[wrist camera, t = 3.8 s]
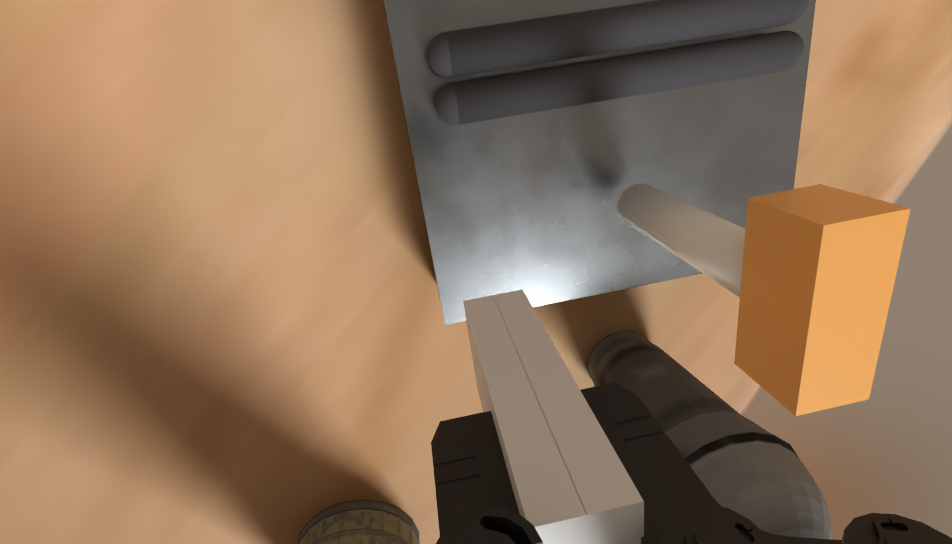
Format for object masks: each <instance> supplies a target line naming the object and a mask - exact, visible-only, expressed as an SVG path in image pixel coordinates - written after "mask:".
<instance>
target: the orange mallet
mask: <svg viewBox="0 0 952 544" xmlns="http://www.w3.org/2000/svg"><path fill="white" fill-rule="evenodd" d="M616 210H617V213H618V215H619V217H620V218H621V219H622V220H623V221H624V222H626V223H627V224H629V225H630V226H632V227H634V228H635V229H637V230H638V231H640V232H641V233H643V234H644V235H646V236H647V237H649V238H650V239H652V240H653V241H655V242H656V243H658V244H659V245H661V246H662V247H664V248H665V249H667V250H669V251H670V252H672V253H673V254H675V255H676V256H678V257H679V258H681V259H682V260H684V261H685V262H687V263H688V264H690V265H691V266H693V267H694V268H696V269H697V270H699V271H700V272H702V273H704V274H705V275H707V276H708V277H710V278H711V279H713V280H714V281H716V282H717V283H719V284H720V285H722V286H723V287H725V288H726V289H728V290H729V291H731V292H732V293H734V294H735V295H737V296H738V297H740V302H739V314H738V327H737V339H736V351H735V364H736V365H737V366H738V367H739V368H740V369H742V370H743V371H744V372H745V373H746V374H747V375H748V376H750V377H751V378H752V379H753V380H754V381H755V382H757V383H758V384H759V385H760V386H761V387H762V388H764V389H765V390H766V391H767V392H768V393H769V394H771V395H772V396H773V397H774V398H775V399H776V400H778V401H779V402H780V403H781V404H782V405H783V406H785V407H786V408H787V409H788V410H789V411H790V412H792V413H793V414H794V415H795V416H798V415H803V414H807V413H811V412H816V411H820V410H824V409H829V408H833V407H837V406H842V405H845V404H850V403H855V402H859V401H863V400H867V399H869V397H870V392H871V388H872V382H873V379H874V374H875V369H876V365H877V360H878V355H879V351H880V346H881V341H882V337H883V333H884V327H885V323H886V319H887V314H888V310H889V305H890V301H891V296H892V291H893V286H894V282H895V278H896V273H897V268H898V263H899V259H900V255H901V250H902V245H903V241H904V236H905V232H906V227H907V222H908V218H909V213H910V208H907V207H903V206H899V205H896V204H892V203H888V202H884V201H881V200H877V199H873V198H870V197H866V196H862V195H858V194H855V193H851V192H847V191H844V190H840V189H836V188H832V187H829V186H825V185H821V184H820V185H815V186H809V187H804V188H799V189H793V190H788V191H783V192H777V193H772V194H767V195H761V196H756V197H751V198H748V204H747V216H746V228H745V229H744V228H742V227H740V226H738V225H736V224H733V223H731V222H729V221H727V220H725V219H722V218H720V217H718V216H716V215H714V214H711V213H709V212H707V211H705V210H702V209H700V208H698V207H696V206H694V205H691V204H689V203H687V202H685V201H683V200H680V199H678V198H676V197H674V196H672V195H669V194H667V193H665V192H663V191H661V190H658V189H656V188H654V187H652V186H649V185H647V184H644V183H634V184H631V185H628V186H627V187H625V188H624V189H623V190H622V191H621V192H620V194H619V195H618V197H617V200H616Z"/></svg>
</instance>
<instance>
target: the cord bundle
mask: <svg viewBox="0 0 952 544" xmlns="http://www.w3.org/2000/svg"><path fill="white" fill-rule="evenodd" d="M808 5H809V0H657V1H650V2H644V3H637V4H630V5H623V6H617V7H610V8H603V9H596V10H589V11H583V12H576V13H569V14H562V15H556V16H549V17H542V18H535V19H529V20H522V21H515V22H508V23H501V24H495V25H488V26H481V27H474V28H468V29H461V30H454V31H447V32H442V33H439V34H437V35H436V36H435V37H433V39H432V40H431V41H430V43H429V45H428V48H427V60H428V63H429V65H430V67H431V68H432V70H433V71H434V72H435V73H437V74H438V75H440V76H442V77H456V76H462V75H469V74H475V73H481V72H488V71H494V70H501V69H507V68H513V67H520V66H526V65H533V64H539V63H545V62H552V61H558V60H565V59H571V58H578V57H584V56H590V55H597V54H603V53H610V52H616V51H622V50H629V49H635V48H642V47H648V46H655V45H661V44H667V43H674V42H680V41H687V40H693V39H699V38H706V37H712V36H719V35H725V34H731V33H738V32H744V31H751V30H757V29H764V28H770V27H776V26H783V25H787V24H791V23H793V22H794V21H796V20H797V19H799V18H800V17H801V16H802V15H803V14H804V12H805V11H806V9H807V7H808ZM803 52H804V42H803V39H802V38H801V37H800V35H799V34H797V33H796V32H793V31H778V32H772V33H765V34H759V35H753V36H746V37H740V38H733V39H727V40H721V41H714V42H708V43H702V44H695V45H689V46H682V47H676V48H670V49H663V50H657V51H651V52H644V53H638V54H631V55H625V56H619V57H612V58H606V59H600V60H593V61H587V62H580V63H574V64H568V65H561V66H555V67H549V68H542V69H536V70H529V71H523V72H517V73H510V74H504V75H498V76H491V77H485V78H478V79H472V80H466V81H459V82H453V83H449V84H446V85H445V86H443V87H442V88H441V89H440V90H439V91H438V93H437V95H436V98H435V108H436V112H437V114H438V116H439V117H440V118H441V119H442V120H443V121H444V122H446V123H448V124H451V125H460V124H466V123H473V122H479V121H485V120H491V119H497V118H503V117H509V116H515V115H521V114H527V113H533V112H539V111H545V110H552V109H558V108H564V107H570V106H576V105H582V104H588V103H594V102H600V101H606V100H612V99H618V98H624V97H630V96H637V95H643V94H649V93H655V92H661V91H667V90H673V89H679V88H685V87H691V86H697V85H703V84H709V83H715V82H722V81H728V80H734V79H740V78H746V77H752V76H758V75H764V74H770V73H776V72H782V71H786V70H788V69H790V68H792V67H793V66H794V65H796V64H797V63H798V61H799V60H800V59H801V57H802V55H803Z"/></svg>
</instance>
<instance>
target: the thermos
mask: <svg viewBox="0 0 952 544" xmlns="http://www.w3.org/2000/svg"><path fill="white" fill-rule="evenodd" d="M297 544H419V531H418V529H417V527H416V526H415V524H414V522H413V520H412V519H411V518H410V517H409V516H408V515H406V514H405V513H404V512H403V511H401V510H400V509H398V508H396V507H393V506H391V505H388V504H385V503H382V502H373V501H365V500H363V501H355V502H347V503H342V504H339V505H337V506H334V507H331V508H328V509H326V510H324V511H323V512H321V513H320V514H318V515H317V516H315V517H314V518H313V519H311V520H310V521H309V522H308V523H307V525H306V526H305V527H304V529H303V530H302V531H301V533H300V535H299V539H298V543H297Z"/></svg>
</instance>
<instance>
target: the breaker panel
mask: <svg viewBox="0 0 952 544" xmlns="http://www.w3.org/2000/svg"><path fill="white" fill-rule="evenodd" d="M650 1H657V0H383V2H384V8H385V13H386V18H387V23H388V29H389V34H390V39H391V45H392V50H393V55H394V60H395V66H396V71H397V76H398V81H399V87H400V92H401V97H402V103H403V108H404V113H405V118H406V124H407V129H408V134H409V140H410V145H411V150H412V155H413V161H414V166H415V171H416V177H417V182H418V187H419V192H420V198H421V203H422V208H423V213H424V219H425V224H426V229H427V235H428V240H429V245H430V250H431V256H432V261H433V266H434V272H435V277H436V282H437V287H438V292H439V297H440V302H441V307H442V312H443V317H444V321H445V325H447V324H452V323H457V322H462V321H466V315H465V309H464V303H463V301H465V300H470V299H475V298H481V297H486V296H491V295H496V294H501V293H506V292H511V291H517V290H523V291H524V293H525V295H526V297H527V298H528V300H529V302H530V304H531V305H532V307H537V306H542V305H547V304H552V303H557V302H562V301H567V300H572V299H577V298H582V297H587V296H592V295H597V294H602V293H607V292H612V291H617V290H622V289H627V288H632V287H637V286H642V285H647V284H652V283H657V282H662V281H667V280H672V279H677V278H682V277H687V276H692V275H697V274H702V272H700V271H699V270H697V269H696V268H694V267H693V266H691V265H690V264H688V263H687V262H685V261H684V260H682V259H681V258H679V257H678V256H676V255H675V254H673V253H672V252H670V251H669V250H667V249H665V248H664V247H662V246H661V245H659V244H658V243H656V242H655V241H653V240H652V239H650V238H649V237H647V236H646V235H644V234H643V233H641V232H640V231H638V230H637V229H635V228H634V227H632V226H630V225H629V224H627V223H626V222H624V221H623V220H622V219H621V218H620V217H619V215H618V213H617V210H616V200H617V197H618V195H619V194H620V192H621V191H622V190H623V189H624V188H625V187H627V186H628V185H631V184H634V183H644V184H647V185H649V186H652V187H654V188H656V189H658V190H661V191H663V192H665V193H667V194H669V195H672V196H674V197H676V198H678V199H680V200H683V201H685V202H687V203H689V204H691V205H694V206H696V207H698V208H700V209H702V210H705V211H707V212H709V213H711V214H714V215H716V216H718V217H720V218H722V219H725V220H727V221H729V222H731V223H733V224H736V225H738V226H740V227H742V228H744V229H745V228H746V216H747V204H748V198H751V197H756V196H761V195H767V194H772V193H777V192H783V191H788V190H793V189H794V180H795V172H796V163H797V155H798V146H799V138H800V129H801V121H802V113H803V104H804V96H805V87H806V79H807V70H808V62H809V53H810V45H811V36H812V28H813V19H814V11H815V2H816V0H809V5H808V7H807V9H806V11H805V12H804V14H803V15H802V16H801V17H800V18H799V19H797V20H796V21H794V22H793V23H791V24H787V25H783V26H776V27H770V28H764V29H757V30H751V31H744V32H738V33H731V34H725V35H719V36H712V37H706V38H699V39H693V40H687V41H680V42H674V43H667V44H661V45H655V46H648V47H642V48H635V49H629V50H622V51H616V52H610V53H603V54H597V55H590V56H584V57H578V58H571V59H565V60H558V61H552V62H545V63H539V64H533V65H526V66H520V67H513V68H507V69H501V70H494V71H488V72H481V73H475V74H469V75H462V76H456V77H442V76H440V75H438V74H437V73H435V72H434V71H433V70H432V68H431V67H430V65H429V63H428V60H427V48H428V45H429V43H430V41H431V40H432V39H433V37H435V36H436V35H437V34H439V33H442V32H447V31H454V30H461V29H468V28H474V27H481V26H488V25H495V24H501V23H508V22H515V21H522V20H529V19H535V18H542V17H549V16H556V15H562V14H569V13H576V12H583V11H589V10H596V9H603V8H610V7H617V6H623V5H630V4H637V3H644V2H650ZM778 31H793V32H796V33H797V34H799V35H800V37H801V38H802V39H803V42H804V52H803V55H802V57H801V59H800V60H799V61H798V63H797V64H796V65H794V66H793V67H792V68H790V69H788V70H786V71H782V72H776V73H770V74H764V75H758V76H752V77H746V78H740V79H734V80H728V81H722V82H715V83H709V84H703V85H697V86H691V87H685V88H679V89H673V90H667V91H661V92H655V93H649V94H643V95H637V96H630V97H624V98H618V99H612V100H606V101H600V102H594V103H588V104H582V105H576V106H570V107H564V108H558V109H552V110H545V111H539V112H533V113H527V114H521V115H515V116H509V117H503V118H497V119H491V120H485V121H479V122H473V123H466V124H460V125H451V124H448V123H446V122H444V121H443V120H442V119H441V118H440V117H439V116H438V114H437V112H436V108H435V98H436V95H437V93H438V91H439V90H440V89H441V88H442V87H443V86H445V85H446V84H449V83H453V82H459V81H466V80H472V79H478V78H485V77H491V76H498V75H504V74H510V73H517V72H523V71H529V70H536V69H542V68H549V67H555V66H561V65H568V64H574V63H580V62H587V61H593V60H600V59H606V58H612V57H619V56H625V55H631V54H638V53H644V52H651V51H657V50H663V49H670V48H676V47H682V46H689V45H695V44H702V43H708V42H714V41H721V40H727V39H733V38H740V37H746V36H753V35H759V34H765V33H772V32H778Z"/></svg>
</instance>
